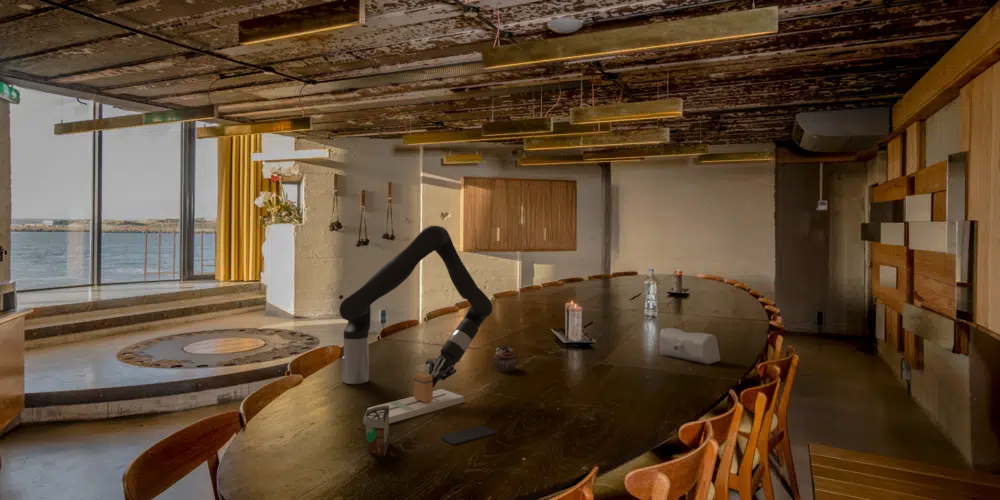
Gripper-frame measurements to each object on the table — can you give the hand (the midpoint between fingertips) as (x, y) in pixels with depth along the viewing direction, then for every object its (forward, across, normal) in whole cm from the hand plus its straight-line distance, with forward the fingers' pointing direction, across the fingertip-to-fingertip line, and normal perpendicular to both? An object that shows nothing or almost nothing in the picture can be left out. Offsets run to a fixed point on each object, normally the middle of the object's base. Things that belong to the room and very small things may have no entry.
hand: (428, 387), depth 185 cm
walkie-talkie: (-17, -35, +27) cm, 47 cm away
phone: (+11, +30, -2) cm, 32 cm away
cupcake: (-32, -14, +40) cm, 53 cm away
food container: (+27, +20, -19) cm, 39 cm away
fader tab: (+4, 0, +1) cm, 4 cm away
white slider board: (+7, 0, +1) cm, 7 cm away
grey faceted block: (-82, +30, +91) cm, 126 cm away
